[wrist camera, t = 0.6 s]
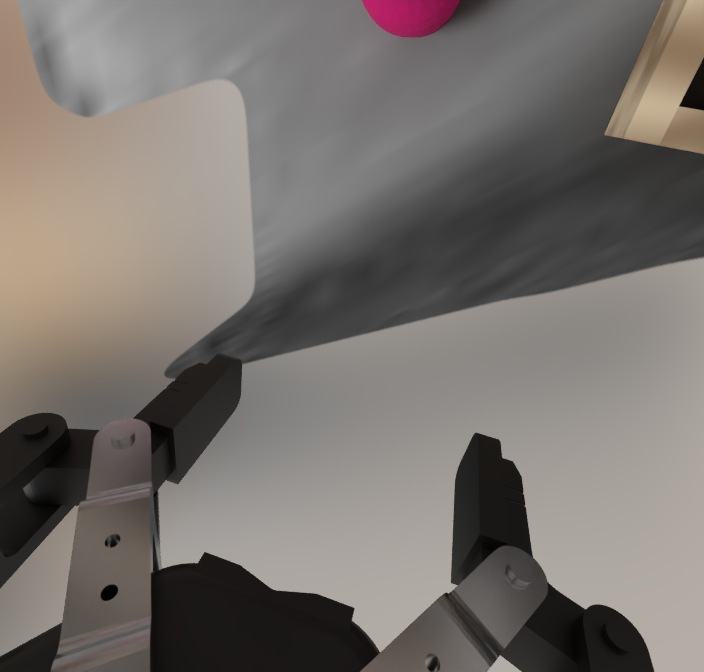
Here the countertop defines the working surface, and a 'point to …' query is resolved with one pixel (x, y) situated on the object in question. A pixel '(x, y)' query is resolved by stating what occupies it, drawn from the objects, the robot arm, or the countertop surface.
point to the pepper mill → (411, 15)
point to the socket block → (665, 82)
